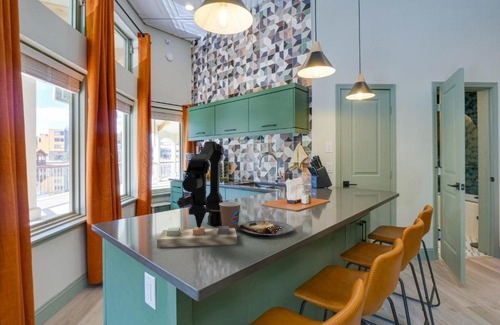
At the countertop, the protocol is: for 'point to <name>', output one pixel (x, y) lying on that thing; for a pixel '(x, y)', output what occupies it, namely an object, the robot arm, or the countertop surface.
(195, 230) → the terracotta key
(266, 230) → the food plate
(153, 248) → the countertop surface
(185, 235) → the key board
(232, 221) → the coffee cup
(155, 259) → the countertop surface
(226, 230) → the charcoal key
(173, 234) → the sage green cube
